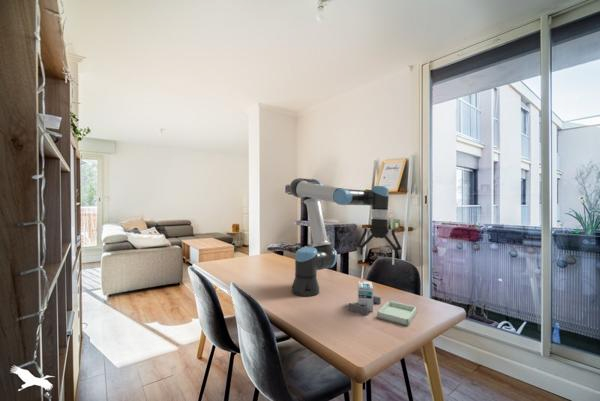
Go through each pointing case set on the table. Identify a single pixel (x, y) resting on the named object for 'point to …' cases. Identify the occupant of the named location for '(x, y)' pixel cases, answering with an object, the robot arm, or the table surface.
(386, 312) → the tray
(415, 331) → the table surface
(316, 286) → the robot arm
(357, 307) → the grey bars
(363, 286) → the light bulb box
